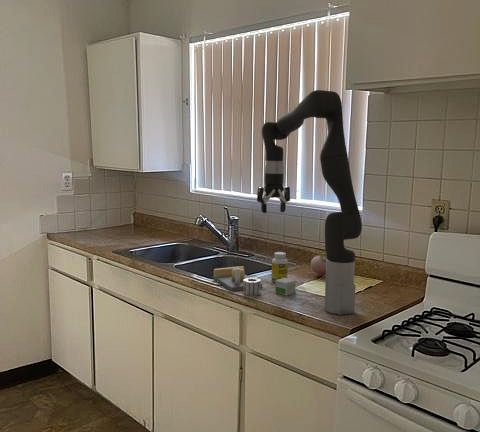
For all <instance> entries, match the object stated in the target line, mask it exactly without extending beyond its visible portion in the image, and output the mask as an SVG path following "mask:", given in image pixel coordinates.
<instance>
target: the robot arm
mask: <svg viewBox="0 0 480 432" xmlns="http://www.w3.org/2000/svg"><path fill="white" fill-rule="evenodd" d="M343 116H344V115H343V106H342V99H341V97H340V95H339V93H337V92H336V91H332V90H322V89H321V90H320V89H317V90H313V91H311V92H310V93H308V94H307V96H305V97H304V98H303V100H301V101H300V102H299V103H298V104H297V105H296V106H295V107H294V108H293V109H291V110H290V111H289V112H286V113H285V114H283V115H282V116H280V117H279V119H278V120H277V121H266V122H264V124H263V125H262V127H261V136H262V140H263V145H264V149H265V165H264V187H262V186H261V187H260V186H258V187H257V193H256V194H257V195H256V201H257V203H260V205H261V207H260V208H261V210H260V211H261V212H262V214H267V202H268V201H269V200H270V199H274V198H277V199H278V200H279V202H280V204H279V205H280V206H279V207H280V208H279V212H280V213H285V212H286V206H287V205H286V203H288V202H290V201H291V188H290V186H284V175H285V174H284V172H285V171H284V169H285V166H284V148H283V147H282V146H280V145H276V143H275V141H283V140H286V139H287V138H288V137H289V136H290V135H291V133H292V132H295V131H297V130H298V129H300V128H301V127H302V126H303V125H304V121H305V120H306V119H311V118H316V119H325V122H326V126H327V128H326V129H327V134H326V139H325V140H324V143H323V145H322V148H321V151H320V155H319V161H320V166H321V168H320V169H321V173H322V177H323V179H324V181H325V182H326V184H327V185H328V186H329V188H330V189H331V190H332V192H333V193H334V195H335V196H336V198H337V200H338V203H339V206H340V210H341V211H334V212H333V211H332V212H330V213H329V214H328V215H327V216H326V218H325V222H324V250H325V253H326V257H327V259H326V274H325V286H324V287H325V289H324V310H325V311H326V312H327V313H330V314H335V315H338V316H344V315H348V314H355V307H356V305H355V303H356V284H355V266H356V265H355V263H356V253H355V252H354V251H353V250H351V249H348V248H346V247H345V243H344V242H345V241H346V240H347V241H348V240H354V239H358V238H359V237H360V235H361V233H362V229H363V228H362V226H363V222H362V217H361V213H360V211H359V210H360V209H359V207H358V202H357V199H356V194H355V191H354V186H353V182H352V175H351V174H352V173H351V167H350V162H349V155H348V151H347V145H346V139H345V130H344V118H343ZM264 192H265V193H264ZM283 193H284V194H283Z"/></svg>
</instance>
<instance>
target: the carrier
mask: <svg viewBox="0 0 480 432" xmlns="http://www.w3.org/2000/svg"><path fill="white" fill-rule="evenodd" d="M246 278H251V277H250V276H248V275H247V274H245V266H243V265H242V266H230V267H221V268H219V267H218V268H213V280H214V282H216V281H218V282H219V283H218V282H217V283H218V284H220V283H221V284H222V287H224V286H225V287H224V288H225V289H227V290H229V291H230V292H238V291H243V280H244V279H246ZM221 284H220V285H221ZM261 289H263V283H262V282H261Z"/></svg>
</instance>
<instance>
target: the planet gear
mask: <svg viewBox="0 0 480 432" xmlns="http://www.w3.org/2000/svg"><path fill="white" fill-rule="evenodd" d="M261 283H262V280H261V279H260V278H257V277H250V278H246V279H244V280H243V290H242V292H243V294H244V295H245V296H249V297H250V296H251V297H255V296H260V295H261V294H262V293H261V291H262V290H261V289H262V288H261Z"/></svg>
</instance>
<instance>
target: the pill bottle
mask: <svg viewBox="0 0 480 432" xmlns="http://www.w3.org/2000/svg"><path fill="white" fill-rule="evenodd" d="M273 256H274V258H273V259H272V261H271V282H273V283H275V280H278V279H282V278H287V279H288V274H289V271H288V269H289V268H288V266H289V260H288V259H287V258H286V257H287V254H286V252H283V251H277V252H276V251H275V252H274V254H273Z"/></svg>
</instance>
